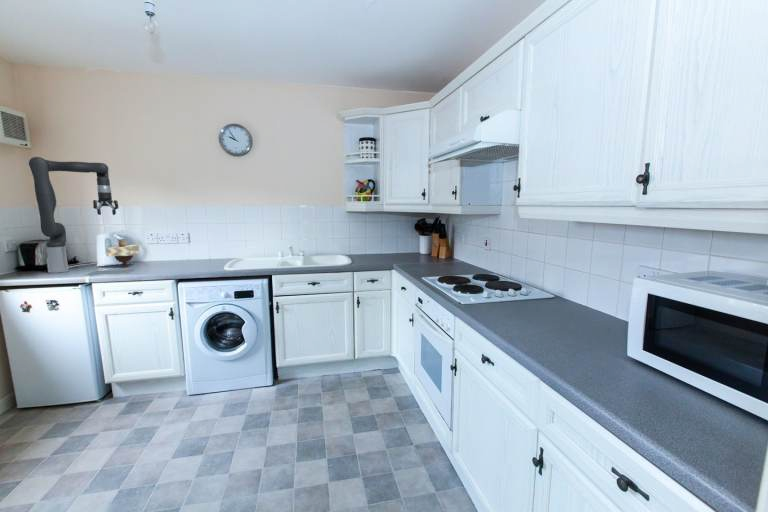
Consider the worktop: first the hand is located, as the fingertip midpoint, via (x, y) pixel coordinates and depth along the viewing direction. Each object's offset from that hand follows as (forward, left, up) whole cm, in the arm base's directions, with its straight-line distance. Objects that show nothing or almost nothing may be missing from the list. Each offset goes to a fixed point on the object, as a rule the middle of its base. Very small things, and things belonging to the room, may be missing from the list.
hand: (106, 214), depth 248 cm
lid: (+10, -6, -28) cm, 30 cm away
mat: (+9, -24, -38) cm, 46 cm away
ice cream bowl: (+10, -6, -38) cm, 40 cm away
